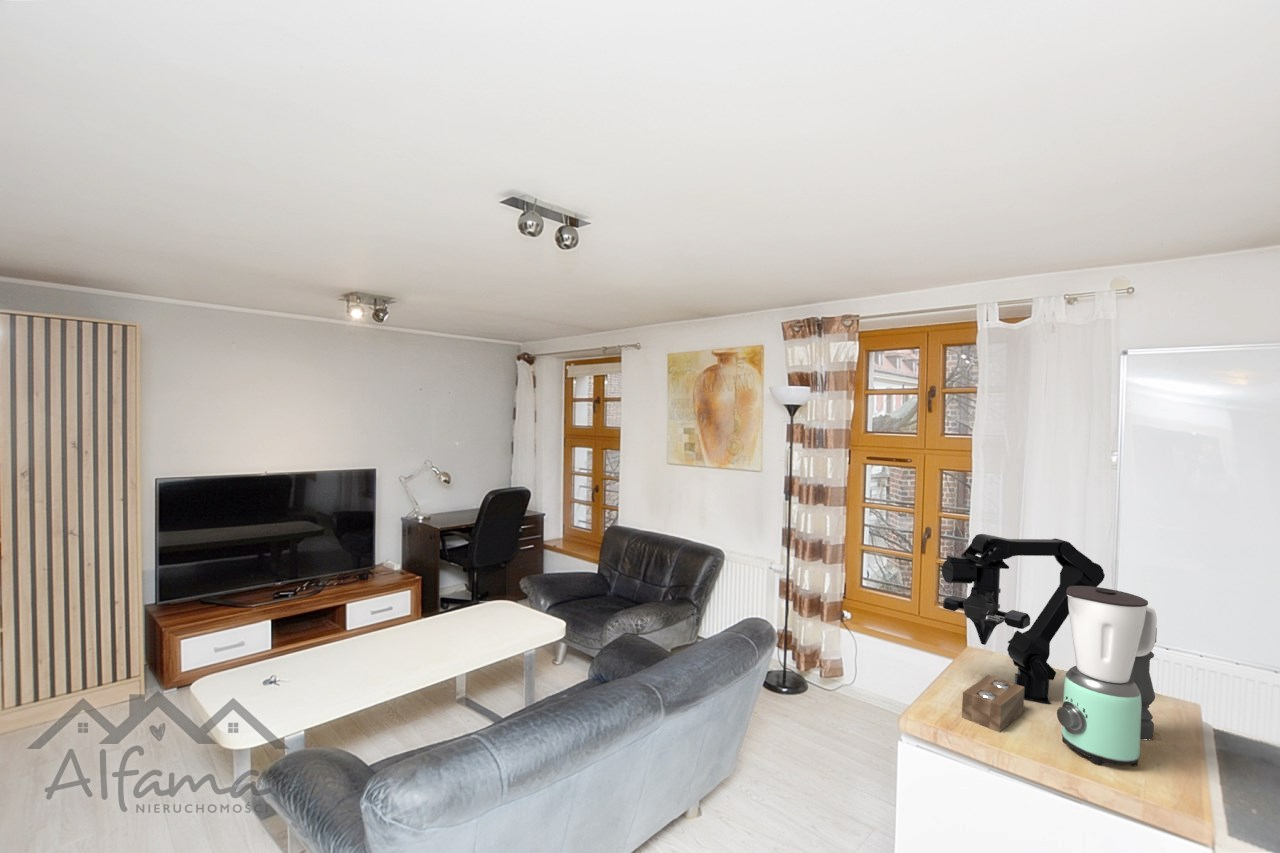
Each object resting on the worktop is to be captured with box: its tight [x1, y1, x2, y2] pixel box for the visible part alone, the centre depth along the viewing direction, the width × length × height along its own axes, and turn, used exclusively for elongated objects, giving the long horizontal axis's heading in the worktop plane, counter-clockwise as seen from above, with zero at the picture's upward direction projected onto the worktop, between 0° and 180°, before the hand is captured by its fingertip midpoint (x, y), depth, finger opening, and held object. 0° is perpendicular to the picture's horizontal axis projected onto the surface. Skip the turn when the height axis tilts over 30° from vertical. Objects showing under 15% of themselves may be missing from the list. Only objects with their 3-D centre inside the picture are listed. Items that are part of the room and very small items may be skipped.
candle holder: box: [1130, 627, 1158, 741], centre depth 131 cm, size 6×6×25 cm
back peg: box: [993, 681, 1009, 689], centre depth 140 cm, size 3×3×6 cm
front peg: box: [979, 691, 995, 700], centre depth 134 cm, size 3×3×6 cm
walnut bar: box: [961, 674, 1025, 733], centre depth 137 cm, size 8×16×6 cm, turn 130°
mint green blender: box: [1056, 586, 1158, 767], centre depth 122 cm, size 19×13×35 cm
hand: (983, 644), depth 148 cm, fingers closed
